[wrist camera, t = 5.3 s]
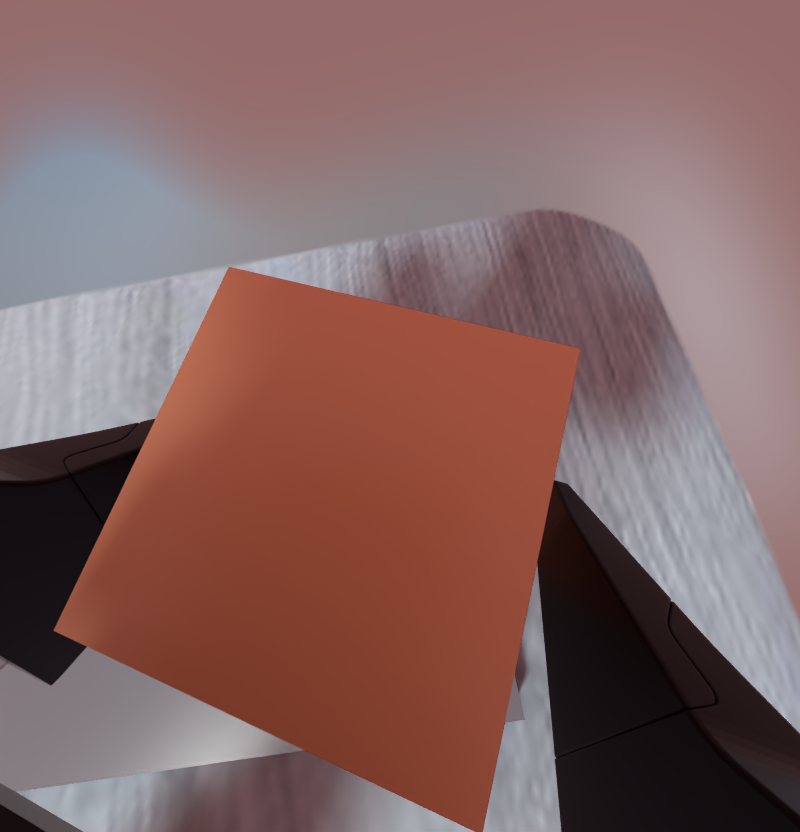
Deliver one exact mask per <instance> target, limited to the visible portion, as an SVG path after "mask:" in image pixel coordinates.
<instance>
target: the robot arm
mask: <svg viewBox="0 0 800 832" xmlns="http://www.w3.org/2000/svg"><path fill="white" fill-rule="evenodd" d="M154 421H155V419H152V420H147V421H143V422H140V423H134V424H130V425H125V426H121V427H116V428H111V429H107V430H102V431H97V432H92V433H87V434H82V435H77V436H71V437H66V438H61V439H55V440H50V441H44V442H39V443H33V444H28V445H22V446H17V447H11V448H6V449H0V670H1V669H3V668H4V667H5V666H6V665H7V664H9V665H11V666H13V667H15V668H17V669H19V670H21V671H23V672H25V673H26V674H28V675H30V676H32V677H34V678H36V679H38V680H40V681H42V682H44V683H46V684H48V685H50V686H51V685H53V684H54V683H55V682H56V681H57V680H58V679H59V678H60V677H61V676H62V675H63V674H64V672H65V671H66V670H67V669H68V668H69V667H70V666H71V664H72V663H73V662H74V661H75V660H76V659H77V658H78V656H79V655H80V654H81V653H82V652H83V651H84V650H85V649H86V647H87V646H85V645H82V644H80V643H78V642H76V641H74V640H72V639H70V638H68V637H66V636H64V635H62V634H59V633H57V632H55V631H54V629H55V627H56V624H57V622H58V620H59V618H60V616H61V614H62V612H63V610H64V608H65V606H66V604H67V602H68V600H69V598H70V595H71V593H72V591H73V589H74V587H75V585H76V583H77V581H78V579H79V577H80V575H81V573H82V571H83V568H84V566H85V564H86V562H87V560H88V558H89V556H90V554H91V552H92V550H93V548H94V546H95V544H96V542H97V539H98V537H99V535H100V533H101V531H102V529H103V527H104V525H105V523H106V521H107V519H108V517H109V515H110V513H111V510H112V508H113V506H114V504H115V502H116V500H117V498H118V496H119V494H120V492H121V490H122V488H123V486H124V483H125V481H126V479H127V477H128V475H129V473H130V471H131V469H132V467H133V465H134V463H135V461H136V459H137V457H138V454H139V452H140V450H141V448H142V446H143V444H144V442H145V440H146V438H147V436H148V434H149V432H150V430H151V428H152V425H153V423H154ZM537 565H538V576H539V587H540V598H541V609H542V620H543V631H544V642H545V653H546V664H547V675H548V686H549V697H550V708H551V719H552V730H553V741H554V752H555V757H556V759H555V766H556V777H557V788H558V799H559V810H560V821H561V832H800V733H799V732H798V731H797V730H796V729H795V728H794V727H793V726H792V725H791V724H790V723H789V722H788V721H787V720H786V719H785V718H784V717H783V716H782V715H781V714H780V713H779V712H778V711H777V710H776V709H775V708H774V707H773V706H772V705H771V704H770V703H769V702H768V701H767V700H766V699H765V698H764V697H763V696H762V695H761V694H760V693H759V692H758V691H757V690H756V689H755V688H754V687H753V686H752V685H751V684H750V683H749V682H748V681H747V680H746V679H745V678H744V677H743V676H742V675H741V674H740V672H739V671H738V670H737V669H736V668H735V667H734V666H733V665H732V664H731V663H730V662H729V661H728V660H727V659H726V658H725V657H724V656H723V655H722V654H721V653H720V652H719V651H718V650H717V649H716V648H715V647H714V646H713V645H712V643H711V642H710V641H709V640H708V639H707V638H706V637H705V636H704V635H703V634H702V633H701V632H700V630H699V629H698V628H697V627H696V626H695V625H694V624H693V623H692V622H691V621H690V620H689V619H688V617H687V616H686V615H685V614H684V613H683V612H682V611H681V610H680V608H679V607H678V606H677V605H676V604H675V603H674V602H671V599H670V597H669V596H668V595H667V594H666V593H665V592H664V591H663V590H662V589H661V587H660V586H659V585H658V584H657V583H656V582H655V581H654V580H653V578H652V577H651V576H650V575H649V574H648V573H647V572H646V571H645V570H644V568H643V567H642V566H641V565H640V564H639V563H638V562H637V561H636V560H635V558H634V557H633V556H632V555H631V554H630V553H629V552H628V551H627V549H626V548H625V547H624V546H623V545H622V544H621V543H620V542H619V541H618V539H617V538H616V537H615V536H614V535H613V534H612V533H611V532H610V531H609V529H608V528H607V527H606V526H605V525H604V524H603V523H602V522H601V521H600V519H599V518H598V517H597V516H596V515H595V514H594V513H593V512H592V510H591V509H590V508H589V507H588V506H587V505H586V504H585V503H584V502H583V500H582V499H581V498H580V497H579V496H578V495H577V494H576V493H575V492H574V490H573V489H572V488H571V487H570V486H569V485H568V484H566V483H563V482H559V481H556V480H554V482H553V487H552V492H551V497H550V502H549V507H548V512H547V517H546V522H545V527H544V532H543V536H542V541H541V546H540V551H539V556H538V561H537ZM0 832H82V831H81V830H79V829H77V828H76V827H74V826H72V825H71V824H69V823H67V822H65V821H64V820H62V819H60V818H59V817H57V816H55V815H54V814H52V813H50V812H49V811H47V810H45V809H43V808H42V807H40V806H38V805H37V804H35V803H33V802H32V801H30V800H28V799H26V798H25V797H23V796H21V795H20V794H18V793H16V792H15V791H13V790H11V789H9V788H8V787H6V786H4V785H3V784H1V783H0Z"/></svg>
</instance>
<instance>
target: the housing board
mask: <svg viewBox="0 0 800 832" xmlns="http://www.w3.org/2000/svg"><path fill="white" fill-rule="evenodd" d="M518 720H525V719H524V715H523V710H522V706H521V701H520V697H519V692H518V688H517V683H516V679H515V675H514V680H513V685H512V689H511V694H510V699H509V704H508V709H507V714H506V719H505V722H510V721H518ZM298 751H305V750H303V749H301V748H299V747H296V746H294V745H292V744H290V743H288V742H286V741H284V740H282V739H280V738H278V737H275V736H273V735H271V734H269V733H267V732H265V731H263V730H261V729H259V728H257V727H254V726H252V725H250V724H248V723H246V722H244V721H242V720H240V719H238V718H236V717H234V716H231V715H229V714H227V713H225V712H223V711H221V710H219V709H217V708H215V707H213V706H210V705H208V704H206V703H204V702H202V701H200V700H198V699H196V698H194V697H192V696H189V695H187V694H185V693H183V692H181V691H179V690H177V689H175V688H173V687H171V686H168V685H166V684H164V683H162V682H160V681H158V680H156V679H154V678H152V677H150V676H148V675H145V674H143V673H141V672H139V671H137V670H135V669H133V668H131V667H129V666H127V665H124V664H122V663H120V662H118V661H116V660H114V659H112V658H110V657H108V656H106V655H103V654H101V653H99V652H97V651H95V650H93V649H91V648H89V647H86V649H85V650H84V651H83V652H82V653H81V654H80V655H79V656H78V658H77V659H76V660H75V661H74V662H73V663H72V664H71V666H70V667H69V668H68V669H67V670H66V671H65V672H64V674H63V675H62V676H61V677H60V678H59V679H58V680H57V681H56V682H55V683H54V684H53V685H51V686H50V685H48V684H46V683H44V682H42V681H40V680H38V679H36V678H34V677H32V676H30V675H28V674H26V673H25V672H23V671H21V670H19V669H17V668H15V667H13V666H11V665H9V664H7V665H6V666H5V667H4V668H3V669H1V670H0V783H1V784H3V785H4V786H6V787H8V788H9V789H11V790H13V791H23V790H30V789H37V788H44V787H51V786H58V785H65V784H72V783H79V782H86V781H93V780H100V779H107V778H114V777H122V776H129V775H136V774H143V773H150V772H157V771H164V770H171V769H178V768H185V767H192V766H199V765H206V764H213V763H221V762H228V761H235V760H242V759H249V758H256V757H263V756H270V755H277V754H284V753H291V752H298Z"/></svg>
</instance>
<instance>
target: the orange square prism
mask: <svg viewBox="0 0 800 832" xmlns="http://www.w3.org/2000/svg"><path fill="white" fill-rule="evenodd" d="M579 354H580V348H576V347H571V346H567V345H563V344H558V343H554V342H550V341H546V340H541V339H537V338H533V337H528V336H524V335H520V334H515V333H511V332H507V331H503V330H498V329H494V328H490V327H485V326H481V325H477V324H472V323H468V322H464V321H460V320H455V319H451V318H447V317H442V316H438V315H434V314H429V313H425V312H421V311H417V310H412V309H408V308H404V307H399V306H395V305H391V304H386V303H382V302H378V301H374V300H369V299H365V298H361V297H356V296H352V295H348V294H343V293H339V292H335V291H331V290H326V289H322V288H318V287H313V286H309V285H305V284H300V283H296V282H292V281H288V280H283V279H279V278H275V277H270V276H266V275H262V274H257V273H253V272H249V271H245V270H240V269H236V268H232V267H229V268H228V270H227V272H226V274H225V276H224V278H223V280H222V282H221V284H220V287H219V289H218V291H217V293H216V295H215V297H214V299H213V301H212V303H211V305H210V307H209V309H208V311H207V314H206V316H205V318H204V320H203V322H202V324H201V326H200V328H199V330H198V332H197V334H196V336H195V338H194V340H193V343H192V345H191V347H190V349H189V351H188V353H187V355H186V357H185V359H184V361H183V363H182V365H181V367H180V369H179V372H178V374H177V376H176V378H175V380H174V382H173V384H172V386H171V388H170V390H169V392H168V394H167V396H166V399H165V401H164V403H163V405H162V407H161V409H160V411H159V413H158V415H157V417H156V419H155V421H154V423H153V425H152V428H151V430H150V432H149V434H148V436H147V438H146V440H145V442H144V444H143V446H142V448H141V450H140V452H139V454H138V457H137V459H136V461H135V463H134V465H133V467H132V469H131V471H130V473H129V475H128V477H127V479H126V481H125V483H124V486H123V488H122V490H121V492H120V494H119V496H118V498H117V500H116V502H115V504H114V506H113V508H112V510H111V513H110V515H109V517H108V519H107V521H106V523H105V525H104V527H103V529H102V531H101V533H100V535H99V537H98V539H97V542H96V544H95V546H94V548H93V550H92V552H91V554H90V556H89V558H88V560H87V562H86V564H85V566H84V568H83V571H82V573H81V575H80V577H79V579H78V581H77V583H76V585H75V587H74V589H73V591H72V593H71V595H70V598H69V600H68V602H67V604H66V606H65V608H64V610H63V612H62V614H61V616H60V618H59V620H58V622H57V624H56V627H55V629H54V631H55V632H57V633H59V634H62V635H64V636H66V637H68V638H70V639H72V640H74V641H76V642H78V643H80V644H82V645H85V646H87V647H89V648H91V649H93V650H95V651H97V652H99V653H101V654H103V655H106V656H108V657H110V658H112V659H114V660H116V661H118V662H120V663H122V664H124V665H127V666H129V667H131V668H133V669H135V670H137V671H139V672H141V673H143V674H145V675H148V676H150V677H152V678H154V679H156V680H158V681H160V682H162V683H164V684H166V685H168V686H171V687H173V688H175V689H177V690H179V691H181V692H183V693H185V694H187V695H189V696H192V697H194V698H196V699H198V700H200V701H202V702H204V703H206V704H208V705H210V706H213V707H215V708H217V709H219V710H221V711H223V712H225V713H227V714H229V715H231V716H234V717H236V718H238V719H240V720H242V721H244V722H246V723H248V724H250V725H252V726H254V727H257V728H259V729H261V730H263V731H265V732H267V733H269V734H271V735H273V736H275V737H278V738H280V739H282V740H284V741H286V742H288V743H290V744H292V745H294V746H296V747H299V748H301V749H303V750H305V751H307V752H309V753H311V754H313V755H315V756H317V757H320V758H322V759H324V760H326V761H328V762H330V763H332V764H334V765H336V766H338V767H340V768H343V769H345V770H347V771H349V772H351V773H353V774H355V775H357V776H359V777H361V778H364V779H366V780H368V781H370V782H372V783H374V784H376V785H378V786H380V787H382V788H385V789H387V790H389V791H391V792H393V793H395V794H397V795H399V796H401V797H403V798H406V799H408V800H410V801H412V802H414V803H416V804H418V805H420V806H422V807H424V808H426V809H429V810H431V811H433V812H435V813H437V814H439V815H441V816H443V817H445V818H447V819H450V820H452V821H454V822H456V823H458V824H460V825H462V826H464V827H466V828H468V829H471V830H473V831H475V832H483V828H484V823H485V818H486V813H487V808H488V803H489V798H490V793H491V788H492V783H493V778H494V773H495V768H496V764H497V759H498V754H499V749H500V744H501V739H502V734H503V729H504V724H505V719H506V714H507V709H508V704H509V699H510V694H511V689H512V685H513V680H514V675H515V670H516V665H517V660H518V655H519V650H520V645H521V640H522V635H523V630H524V625H525V620H526V615H527V610H528V606H529V601H530V596H531V591H532V586H533V581H534V576H535V571H536V566H537V561H538V556H539V551H540V546H541V541H542V536H543V532H544V527H545V522H546V517H547V512H548V507H549V502H550V497H551V492H552V487H553V482H554V477H555V472H556V467H557V462H558V457H559V453H560V448H561V443H562V438H563V433H564V428H565V423H566V418H567V413H568V408H569V403H570V398H571V393H572V388H573V383H574V378H575V374H576V369H577V364H578V359H579Z"/></svg>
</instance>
